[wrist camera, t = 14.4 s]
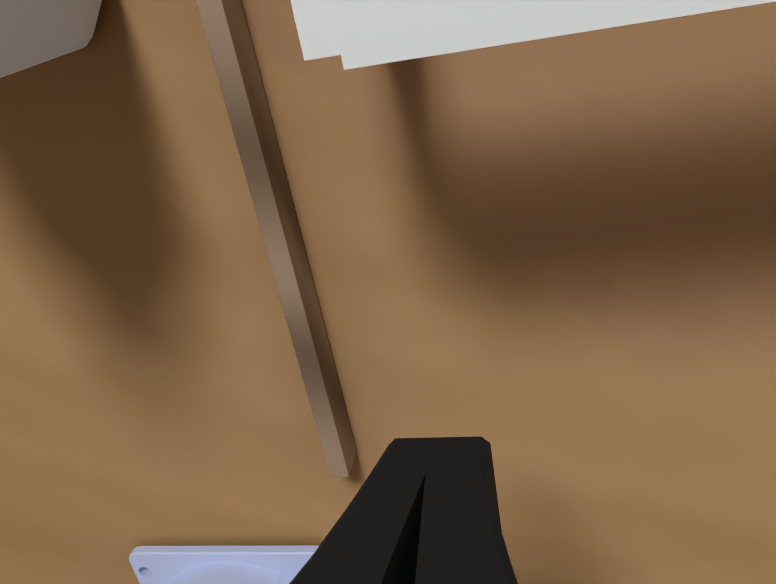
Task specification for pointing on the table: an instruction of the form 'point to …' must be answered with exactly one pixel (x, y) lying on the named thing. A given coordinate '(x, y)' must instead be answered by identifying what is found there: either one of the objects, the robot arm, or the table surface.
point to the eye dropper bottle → (43, 30)
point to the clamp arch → (464, 23)
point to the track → (278, 223)
